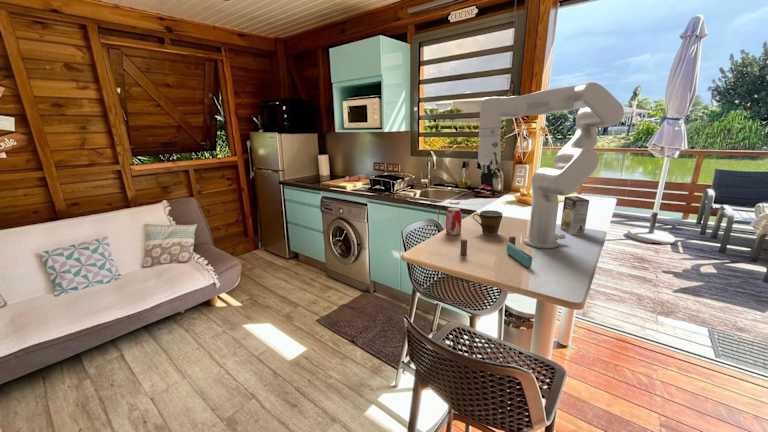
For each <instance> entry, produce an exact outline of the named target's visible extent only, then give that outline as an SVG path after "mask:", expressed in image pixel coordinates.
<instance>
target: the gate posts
mask: <svg viewBox="0 0 768 432" xmlns="http://www.w3.org/2000/svg"><path fill="white" fill-rule="evenodd" d="M516 239H517V237H516V236H514V235H509V236H508V243H509V242H510V243H512V244H513V245H515V246H516ZM459 254H460V255H461V256H463V257H466V256H467V255H468V239H466V238H462V239H460V253H459Z"/></svg>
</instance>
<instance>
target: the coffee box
mask: <svg viewBox="0 0 768 432" xmlns="http://www.w3.org/2000/svg"><path fill="white" fill-rule="evenodd" d="M589 204H590V200H589V199H587V198H584V197H581V196H578V195H566V196H564V200H563V206H562V207H563V208H562V216H561V222H560V228H559V229H560V230H561V231H563V232H565V233H566V234H568V235H570V236H576V235H577V236H578V235H579V236H582V234H584V235H585V230H586V226H587V225H586V224H587V218H588V212H589V211H588V210H589Z"/></svg>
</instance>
